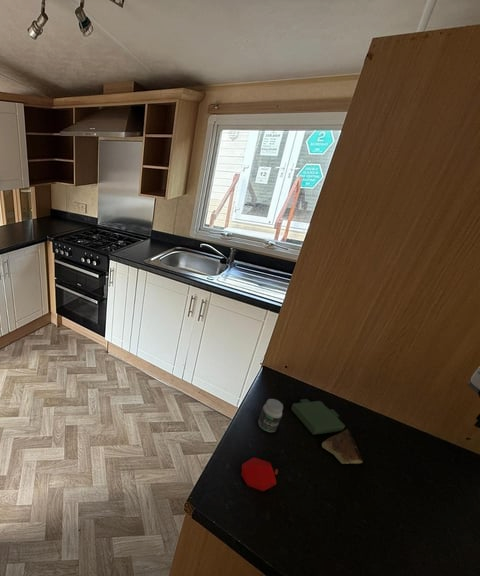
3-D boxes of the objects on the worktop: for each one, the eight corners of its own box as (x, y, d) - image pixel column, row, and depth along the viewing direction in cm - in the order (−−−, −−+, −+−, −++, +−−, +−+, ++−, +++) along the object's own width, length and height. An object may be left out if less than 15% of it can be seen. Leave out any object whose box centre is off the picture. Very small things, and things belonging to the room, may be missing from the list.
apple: (240, 474, 70) (279, 472, 67) (235, 452, 76) (271, 449, 73) (247, 499, 71) (286, 499, 68) (242, 475, 77) (277, 474, 75)
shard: (346, 432, 86) (348, 427, 85) (377, 455, 80) (380, 451, 79) (319, 444, 82) (321, 440, 82) (349, 470, 76) (352, 466, 75)
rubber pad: (318, 402, 96) (320, 397, 95) (346, 430, 86) (349, 425, 85) (288, 405, 94) (290, 400, 93) (313, 434, 85) (315, 429, 84)
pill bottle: (258, 429, 87) (265, 407, 83) (257, 416, 91) (264, 395, 87) (277, 435, 85) (285, 413, 81) (275, 422, 89) (283, 400, 85)
